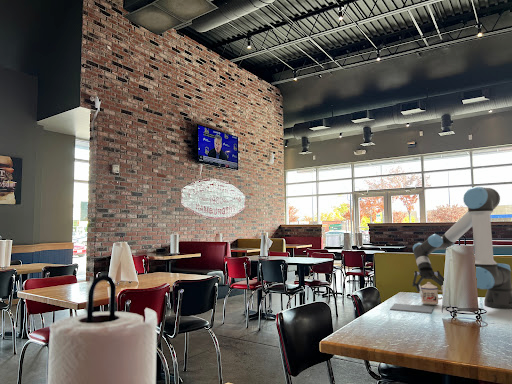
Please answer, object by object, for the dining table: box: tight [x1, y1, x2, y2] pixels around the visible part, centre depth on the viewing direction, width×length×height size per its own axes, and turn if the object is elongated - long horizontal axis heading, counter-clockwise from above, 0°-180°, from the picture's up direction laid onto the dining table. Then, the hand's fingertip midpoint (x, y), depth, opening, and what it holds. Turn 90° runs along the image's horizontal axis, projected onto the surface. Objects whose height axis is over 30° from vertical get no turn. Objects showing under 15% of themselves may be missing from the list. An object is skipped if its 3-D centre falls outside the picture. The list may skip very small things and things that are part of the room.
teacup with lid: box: [420, 281, 443, 306], centre depth 216 cm, size 12×9×12 cm
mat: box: [389, 302, 434, 314], centre depth 206 cm, size 20×16×1 cm
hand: (433, 296), depth 213 cm, fingers closed on teacup with lid, 12 cm apart
